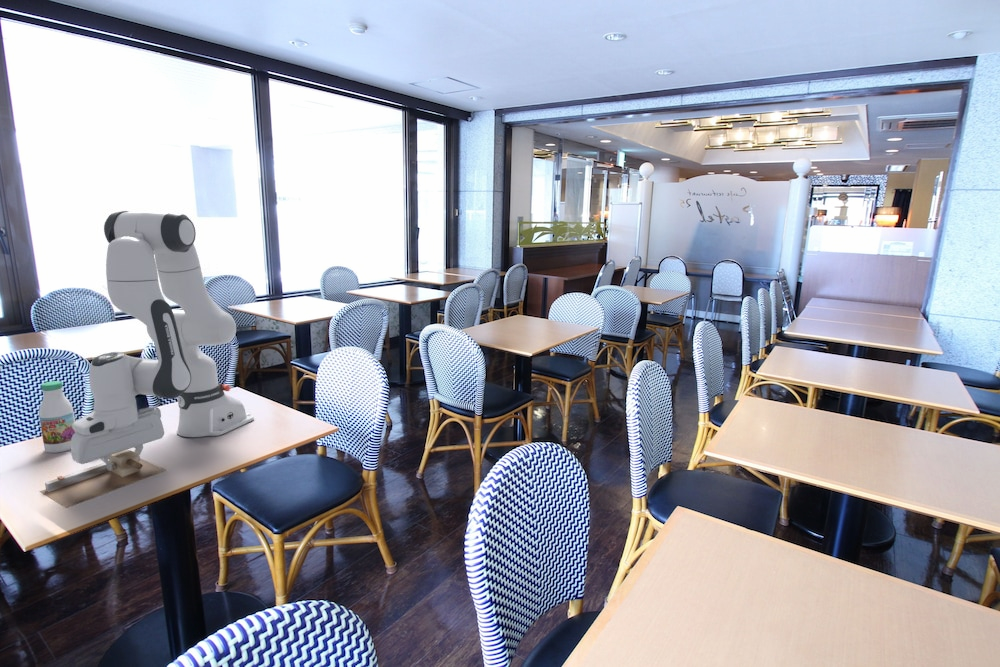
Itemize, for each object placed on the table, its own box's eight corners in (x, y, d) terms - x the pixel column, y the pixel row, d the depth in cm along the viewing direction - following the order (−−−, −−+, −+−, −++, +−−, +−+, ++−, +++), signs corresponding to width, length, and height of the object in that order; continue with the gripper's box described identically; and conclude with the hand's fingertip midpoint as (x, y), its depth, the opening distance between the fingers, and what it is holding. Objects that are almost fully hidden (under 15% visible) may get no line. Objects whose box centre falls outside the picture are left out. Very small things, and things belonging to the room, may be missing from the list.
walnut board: (138, 462, 146) (137, 449, 145) (166, 475, 139) (165, 462, 138) (40, 496, 127) (38, 482, 126) (67, 513, 120) (64, 498, 119)
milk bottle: (46, 446, 154) (35, 381, 150) (79, 440, 158) (69, 377, 154) (43, 456, 148) (31, 388, 144) (78, 449, 152) (67, 384, 148)
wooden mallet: (127, 465, 141) (125, 447, 140) (149, 475, 135) (147, 457, 134) (110, 471, 137) (108, 453, 136) (132, 482, 132) (130, 463, 131)
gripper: (153, 402, 144) (159, 448, 147) (63, 426, 127) (72, 478, 130) (165, 406, 141) (171, 453, 144) (76, 431, 124) (84, 484, 127)
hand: (123, 465), depth 137 cm, fingers open, 4 cm apart
